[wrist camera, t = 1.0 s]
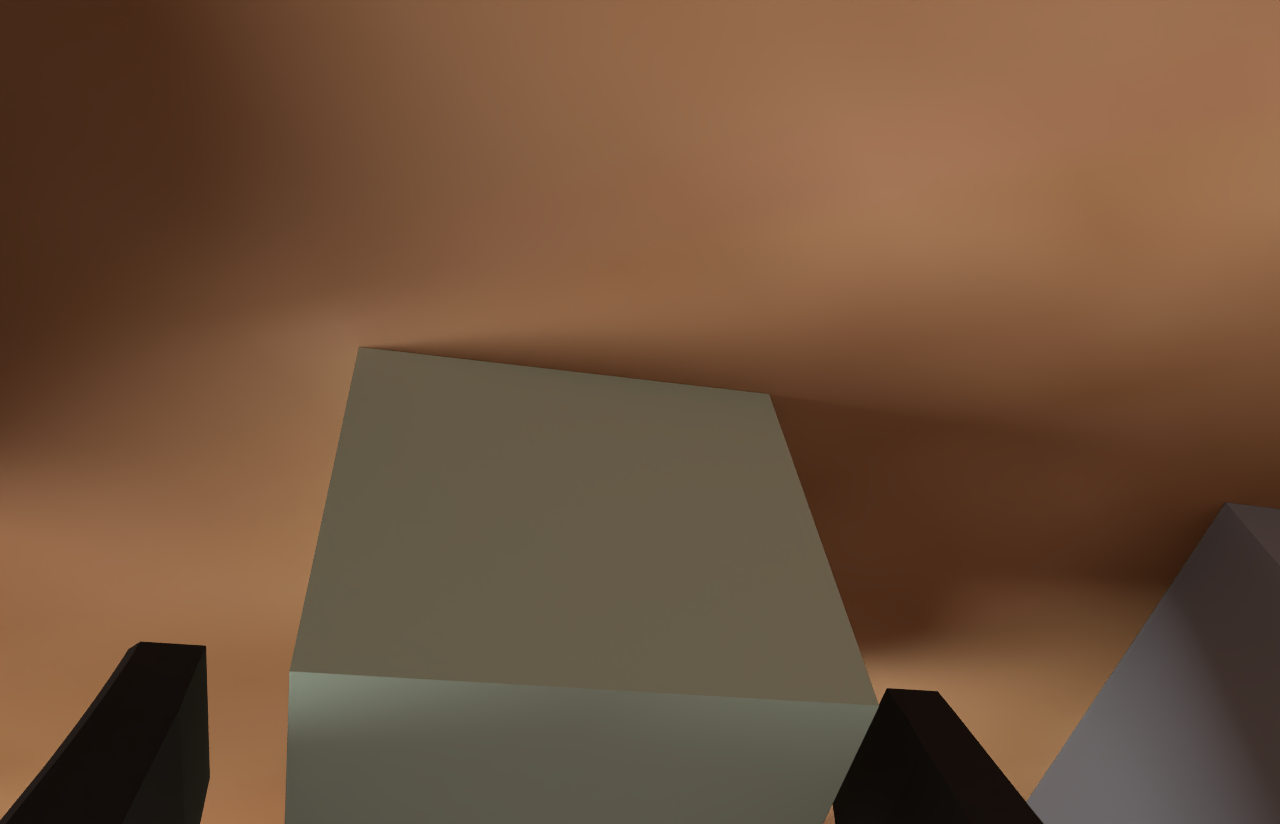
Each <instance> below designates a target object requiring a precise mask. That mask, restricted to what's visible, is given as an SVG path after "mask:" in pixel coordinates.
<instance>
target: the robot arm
mask: <svg viewBox="0 0 1280 824" xmlns="http://www.w3.org/2000/svg"><path fill="white" fill-rule="evenodd" d="M209 778H210V768H209V733H208V699H207V664H206V646H202V645H186V644H170V643H154V642H139V643H138V644H136V645H134V646H133V647H131V648H130V649H128V651H127V652H126V654H125V656H124V657H123V659H122V660H121V662H120V663H119V665H118V666H117V668H116V669H115V671H114V672H113V674H112V675H111V677H110V678H109V680H108V681H107V683H106V684H105V685H104V687H103V688H102V690H101V691H100V693H99V694H98V695H97V697H96V698H95V700H94V701H93V702H92V704H91V705H90V707H89V708H88V709H87V711H86V712H85V714H84V715H83V716H82V718H81V719H80V720H79V722H78V723H77V724H76V726H75V727H74V728H73V730H72V731H71V732H70V734H69V735H68V736H67V738H66V739H65V740H64V741H63V743H62V744H61V745H60V747H59V748H58V749H57V751H56V752H55V753H54V755H53V756H52V757H51V758H50V760H49V761H48V762H47V764H46V765H45V766H44V767H43V769H42V770H41V771H40V772H39V774H38V775H37V776H36V777H35V779H34V780H33V781H32V782H31V783H30V785H29V786H28V787H27V788H26V790H25V791H24V792H23V793H22V794H21V796H20V797H19V798H18V799H17V801H16V802H15V803H14V804H13V805H12V807H11V808H10V809H9V810H8V812H7V813H6V814H5V815H4V816H3V818H2V819H1V820H0V824H200V821H201V817H202V812H203V807H204V802H205V798H206V793H207V788H208V783H209ZM833 810H834V817H835V824H1044V823H1043V822H1042V821H1041V820H1040V818H1039V817H1038V816H1037V815H1036V814H1035V812H1034V811H1033V810H1032V809H1031V807H1030V806H1029V805H1028V804H1027V802H1026V801H1025V800H1024V799H1023V797H1022V796H1021V795H1020V794H1019V792H1018V791H1017V790H1016V789H1015V787H1014V786H1013V785H1012V784H1011V782H1010V781H1009V780H1008V779H1007V777H1006V776H1005V775H1004V774H1003V772H1002V771H1001V770H1000V769H999V767H998V766H997V765H996V764H995V762H994V761H993V760H992V759H991V757H990V756H989V755H988V754H987V752H986V751H985V750H984V748H983V747H982V746H981V745H980V743H979V742H978V741H977V740H976V738H975V737H974V736H973V735H972V733H971V732H970V731H969V729H968V728H967V727H966V726H965V724H964V723H963V722H962V721H961V719H960V718H959V717H958V716H957V714H956V713H955V712H954V711H953V709H952V708H951V707H950V706H949V705H948V703H947V702H946V701H945V700H944V699H943V697H942V696H941V695H940V694H939V692H938V691H923V690H907V689H890V688H887V689H886V691H885V694H884V696H883V698H882V700H881V702H880V704H879V707H878V709H877V711H876V713H875V716H874V718H873V720H872V722H871V724H870V726H869V728H868V730H867V732H866V734H865V737H864V739H863V741H862V743H861V745H860V747H859V749H858V751H857V753H856V755H855V758H854V760H853V762H852V764H851V766H850V768H849V770H848V772H847V774H846V776H845V779H844V781H843V783H842V785H841V787H840V789H839V791H838V793H837V795H836V798H835V800H834V802H833Z"/></svg>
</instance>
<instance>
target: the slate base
mask: <svg viewBox="0 0 1280 824" xmlns="http://www.w3.org/2000/svg"><path fill="white" fill-rule="evenodd" d="M1027 804H1028V805H1029V806H1030V807H1031V809H1032V810H1033V811H1034V812H1035V814H1036V815H1037V816H1038V817H1039V818H1040V820H1041V821H1042V822H1043V823H1044V824H1280V509H1275V508H1268V507H1260V506H1252V505H1244V504H1236V503H1228V502H1225V504H1224V505H1223V507H1222V508H1221V510H1220V511H1219V513H1218V514H1217V516H1216V517H1215V519H1214V520H1213V522H1212V523H1211V525H1210V526H1209V528H1208V529H1207V531H1206V533H1205V534H1204V536H1203V537H1202V539H1201V540H1200V542H1199V543H1198V545H1197V546H1196V548H1195V549H1194V551H1193V552H1192V554H1191V555H1190V557H1189V558H1188V560H1187V561H1186V563H1185V564H1184V566H1183V567H1182V569H1181V570H1180V572H1179V573H1178V575H1177V576H1176V578H1175V579H1174V581H1173V582H1172V584H1171V585H1170V587H1169V588H1168V590H1167V591H1166V593H1165V594H1164V596H1163V597H1162V599H1161V600H1160V602H1159V603H1158V605H1157V606H1156V608H1155V609H1154V611H1153V612H1152V614H1151V615H1150V617H1149V618H1148V620H1147V621H1146V623H1145V624H1144V626H1143V627H1142V629H1141V630H1140V632H1139V633H1138V635H1137V636H1136V638H1135V639H1134V641H1133V642H1132V644H1131V645H1130V647H1129V648H1128V650H1127V651H1126V653H1125V654H1124V656H1123V657H1122V659H1121V660H1120V662H1119V663H1118V665H1117V666H1116V668H1115V669H1114V671H1113V672H1112V674H1111V676H1110V677H1109V679H1108V680H1107V682H1106V683H1105V685H1104V686H1103V688H1102V689H1101V691H1100V692H1099V694H1098V695H1097V697H1096V698H1095V700H1094V701H1093V703H1092V704H1091V706H1090V707H1089V709H1088V710H1087V712H1086V713H1085V715H1084V716H1083V718H1082V719H1081V721H1080V722H1079V724H1078V725H1077V727H1076V728H1075V730H1074V731H1073V733H1072V734H1071V736H1070V737H1069V739H1068V740H1067V742H1066V743H1065V745H1064V746H1063V748H1062V749H1061V751H1060V752H1059V754H1058V755H1057V757H1056V758H1055V760H1054V761H1053V763H1052V764H1051V766H1050V767H1049V769H1048V770H1047V772H1046V773H1045V775H1044V776H1043V778H1042V779H1041V781H1040V782H1039V784H1038V785H1037V787H1036V788H1035V790H1034V791H1033V793H1032V794H1031V796H1030V797H1029V799H1028V800H1027Z"/></svg>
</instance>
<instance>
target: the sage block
mask: <svg viewBox="0 0 1280 824" xmlns="http://www.w3.org/2000/svg"><path fill="white" fill-rule="evenodd" d="M878 707H879V704H878V701H877V698H876V695H875V693H874V690H873V687H872V684H871V681H870V678H869V676H868V673H867V670H866V667H865V664H864V661H863V659H862V656H861V653H860V650H859V647H858V644H857V642H856V639H855V636H854V633H853V630H852V627H851V625H850V622H849V619H848V616H847V613H846V610H845V608H844V605H843V602H842V599H841V596H840V593H839V591H838V588H837V585H836V582H835V579H834V576H833V574H832V571H831V568H830V565H829V562H828V559H827V557H826V554H825V551H824V548H823V545H822V542H821V540H820V537H819V534H818V531H817V528H816V526H815V523H814V520H813V517H812V514H811V511H810V509H809V506H808V503H807V500H806V497H805V494H804V492H803V489H802V486H801V483H800V480H799V477H798V475H797V472H796V469H795V466H794V463H793V460H792V458H791V455H790V452H789V449H788V446H787V443H786V441H785V438H784V435H783V432H782V429H781V426H780V424H779V421H778V418H777V415H776V412H775V409H774V407H773V404H772V401H771V398H770V395H769V394H764V393H756V392H747V391H738V390H729V389H721V388H712V387H703V386H695V385H686V384H677V383H668V382H660V381H651V380H642V379H634V378H625V377H616V376H607V375H599V374H590V373H581V372H573V371H564V370H555V369H547V368H538V367H529V366H520V365H512V364H503V363H494V362H486V361H477V360H468V359H459V358H451V357H442V356H433V355H425V354H416V353H407V352H398V351H390V350H381V349H372V348H364V347H359V349H358V354H357V358H356V363H355V368H354V372H353V377H352V382H351V386H350V391H349V396H348V400H347V405H346V410H345V414H344V419H343V424H342V428H341V433H340V438H339V443H338V447H337V452H336V457H335V461H334V466H333V471H332V475H331V480H330V485H329V489H328V494H327V499H326V503H325V508H324V513H323V517H322V522H321V527H320V531H319V536H318V541H317V545H316V550H315V555H314V560H313V564H312V569H311V574H310V578H309V583H308V588H307V592H306V597H305V602H304V606H303V611H302V616H301V620H300V625H299V630H298V634H297V639H296V644H295V648H294V653H293V658H292V663H291V667H290V675H289V706H288V738H287V770H286V801H285V824H823V823H824V821H825V819H826V816H827V814H828V812H829V810H830V808H831V806H832V804H833V802H834V800H835V798H836V795H837V793H838V791H839V789H840V787H841V785H842V783H843V781H844V779H845V776H846V774H847V772H848V770H849V768H850V766H851V764H852V762H853V760H854V758H855V755H856V753H857V751H858V749H859V747H860V745H861V743H862V741H863V739H864V737H865V734H866V732H867V730H868V728H869V726H870V724H871V722H872V720H873V718H874V716H875V713H876V711H877V709H878Z"/></svg>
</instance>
